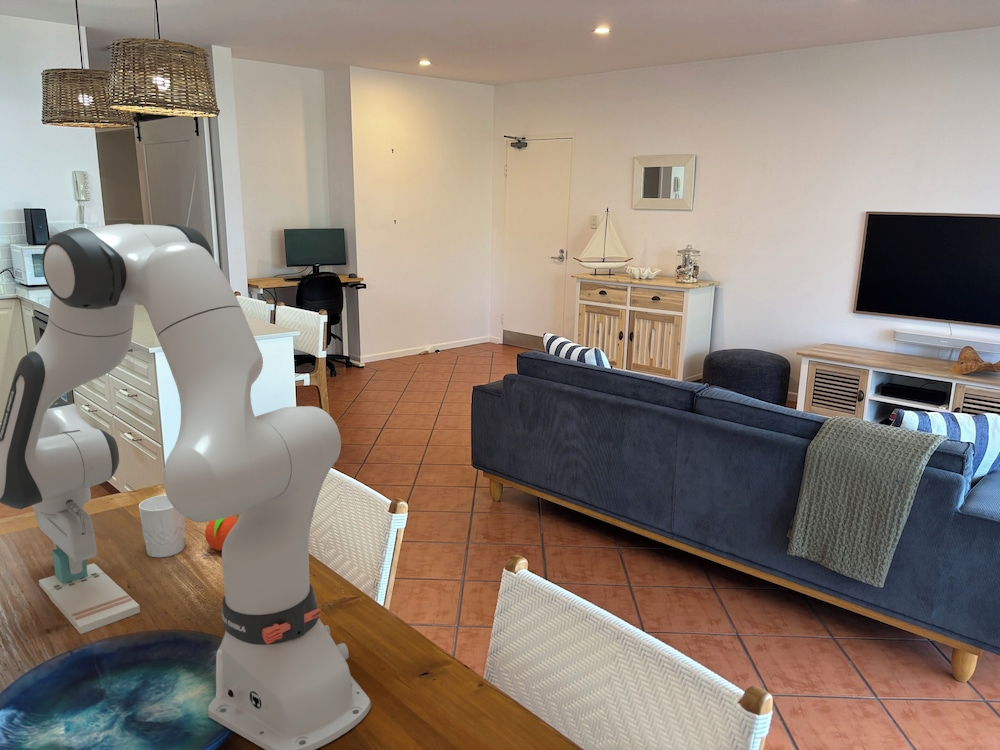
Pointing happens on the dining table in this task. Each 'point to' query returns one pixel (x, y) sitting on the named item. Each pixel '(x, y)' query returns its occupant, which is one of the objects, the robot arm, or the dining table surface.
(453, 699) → the dining table surface
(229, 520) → the clementine
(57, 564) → the stub
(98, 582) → the ticket
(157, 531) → the white cup
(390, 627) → the dining table surface
